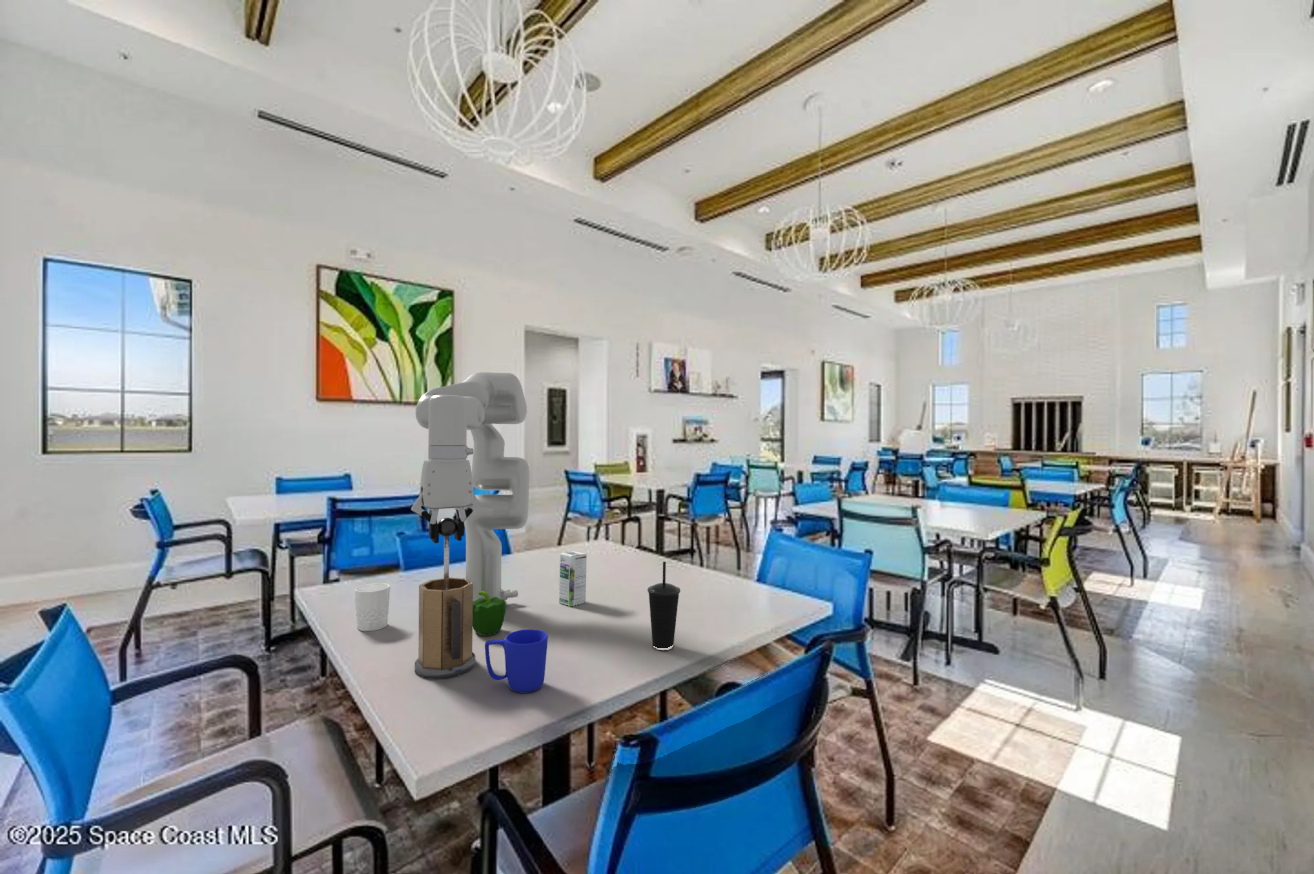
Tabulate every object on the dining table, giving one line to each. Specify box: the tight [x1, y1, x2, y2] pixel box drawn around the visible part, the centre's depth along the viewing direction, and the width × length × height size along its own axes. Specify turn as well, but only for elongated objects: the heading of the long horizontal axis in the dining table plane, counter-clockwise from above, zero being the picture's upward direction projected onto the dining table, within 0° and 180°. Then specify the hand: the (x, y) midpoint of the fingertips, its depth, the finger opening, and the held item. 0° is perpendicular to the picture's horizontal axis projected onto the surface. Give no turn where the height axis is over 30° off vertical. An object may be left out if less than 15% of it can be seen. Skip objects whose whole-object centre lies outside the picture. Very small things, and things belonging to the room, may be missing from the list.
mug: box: [484, 628, 549, 694], centre depth 111 cm, size 8×12×10 cm
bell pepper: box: [473, 591, 507, 636], centre depth 141 cm, size 8×8×10 cm
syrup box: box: [558, 550, 588, 607], centre depth 165 cm, size 6×6×14 cm
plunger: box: [437, 517, 457, 590], centre depth 120 cm, size 8×8×19 cm
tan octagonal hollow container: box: [414, 576, 476, 680], centre depth 119 cm, size 12×14×18 cm
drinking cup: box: [647, 561, 681, 648], centre depth 133 cm, size 8×8×20 cm
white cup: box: [354, 582, 391, 632], centre depth 143 cm, size 8×8×10 cm
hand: (446, 539), depth 120 cm, fingers closed on plunger, 4 cm apart
